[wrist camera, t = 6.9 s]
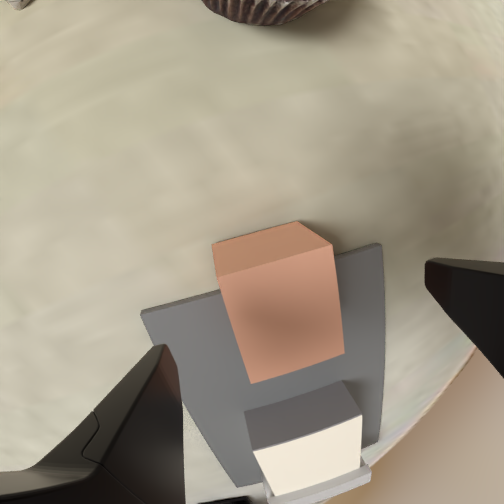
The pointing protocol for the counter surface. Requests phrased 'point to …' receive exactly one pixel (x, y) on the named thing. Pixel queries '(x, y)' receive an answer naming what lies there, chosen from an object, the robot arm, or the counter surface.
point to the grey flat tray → (285, 391)
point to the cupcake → (262, 10)
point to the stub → (280, 299)
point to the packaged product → (18, 3)
